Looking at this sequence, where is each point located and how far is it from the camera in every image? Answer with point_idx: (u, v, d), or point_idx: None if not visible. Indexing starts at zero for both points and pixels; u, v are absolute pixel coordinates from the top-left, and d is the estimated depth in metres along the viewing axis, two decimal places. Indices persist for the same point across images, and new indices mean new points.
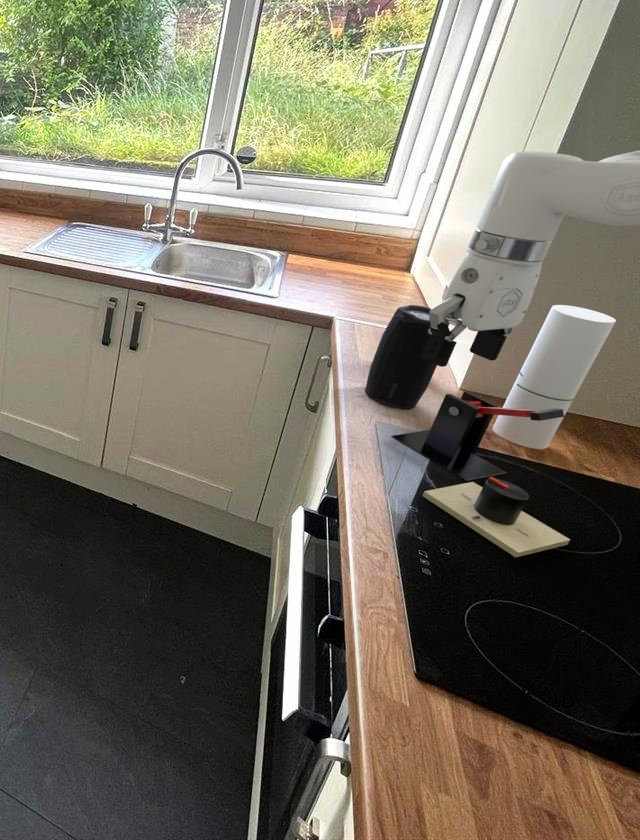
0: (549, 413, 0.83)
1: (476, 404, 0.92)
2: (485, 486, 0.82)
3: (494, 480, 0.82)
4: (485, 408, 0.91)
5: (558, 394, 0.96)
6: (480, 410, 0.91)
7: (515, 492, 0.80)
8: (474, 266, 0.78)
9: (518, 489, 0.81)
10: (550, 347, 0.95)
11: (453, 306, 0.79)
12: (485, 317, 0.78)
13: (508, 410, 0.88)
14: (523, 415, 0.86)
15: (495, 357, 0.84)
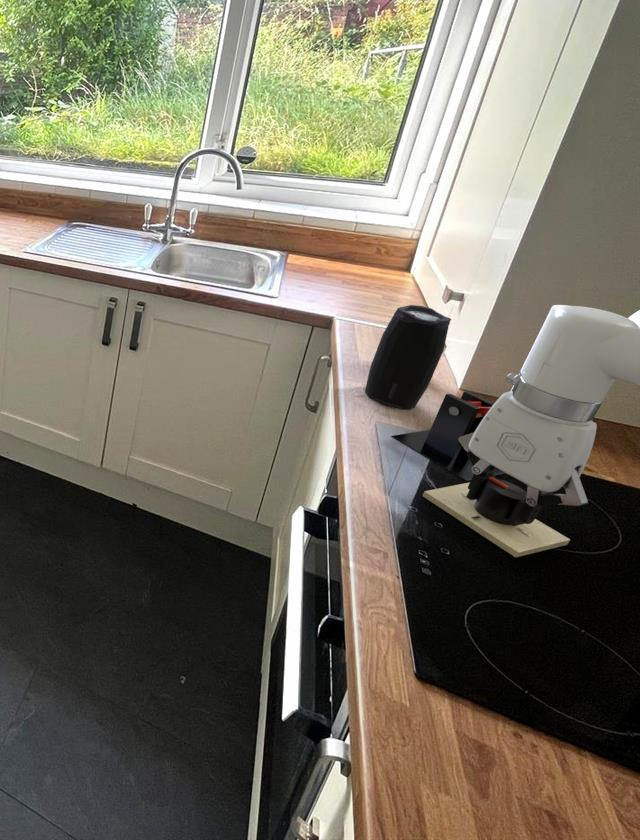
0: None
1: (476, 404, 0.92)
2: (485, 486, 0.82)
3: (494, 480, 0.82)
4: (485, 408, 0.91)
5: None
6: (480, 410, 0.91)
7: (515, 492, 0.80)
8: None
9: (518, 489, 0.81)
10: None
11: (474, 433, 0.84)
12: (482, 444, 0.81)
13: None
14: None
15: (510, 521, 0.79)
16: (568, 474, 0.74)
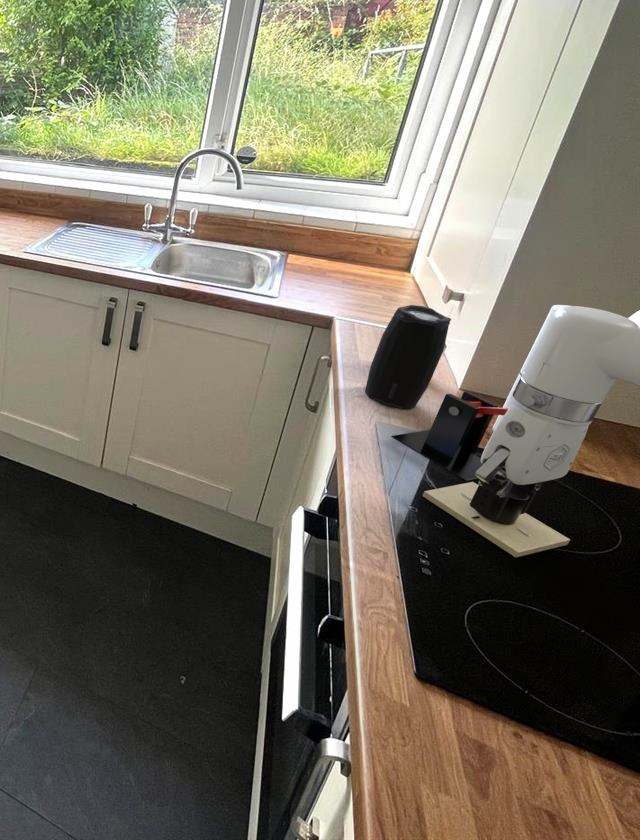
0: None
1: (476, 404, 0.92)
2: (511, 501, 0.79)
3: None
4: (485, 408, 0.91)
5: None
6: (480, 410, 0.91)
7: None
8: (520, 420, 0.75)
9: None
10: None
11: (498, 466, 0.77)
12: (531, 472, 0.76)
13: None
14: None
15: (523, 511, 0.81)
16: None
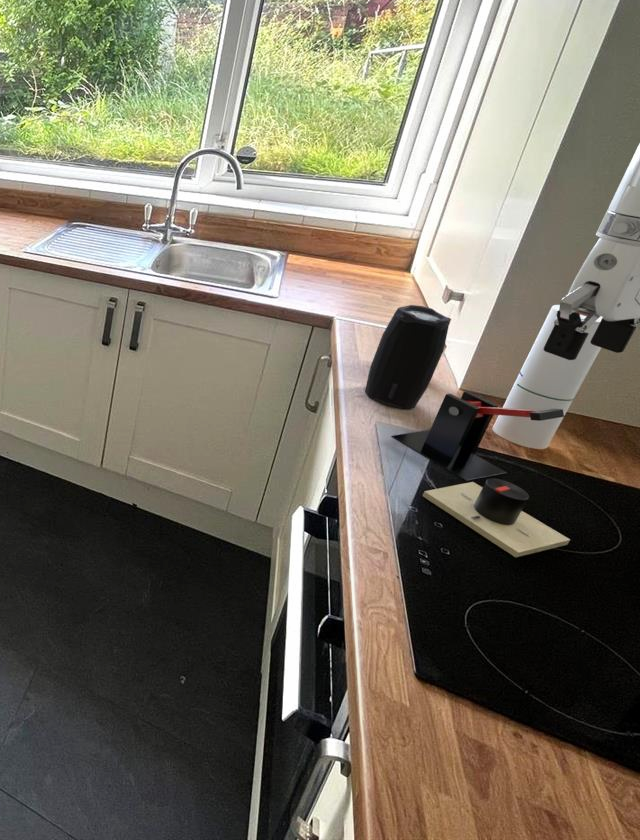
0: (549, 413, 0.83)
1: (476, 404, 0.92)
2: (512, 501, 0.79)
3: (502, 490, 0.80)
4: (485, 408, 0.91)
5: (558, 394, 0.96)
6: (480, 410, 0.91)
7: (509, 486, 0.81)
8: (610, 251, 0.72)
9: (498, 482, 0.82)
10: None
11: (587, 294, 0.73)
12: (623, 305, 0.73)
13: (508, 410, 0.88)
14: (523, 415, 0.86)
15: (622, 349, 0.79)
16: None
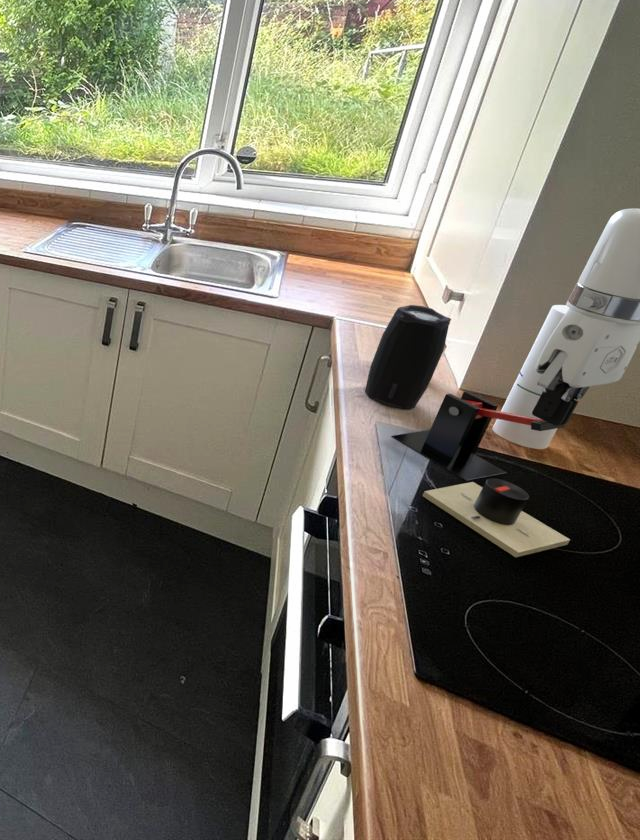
0: (550, 424, 0.83)
1: (477, 405, 0.92)
2: (512, 501, 0.79)
3: (502, 490, 0.80)
4: (486, 411, 0.91)
5: None
6: (480, 412, 0.91)
7: (509, 486, 0.81)
8: (577, 323, 0.77)
9: (498, 482, 0.82)
10: None
11: (557, 373, 0.79)
12: (588, 374, 0.77)
13: (509, 416, 0.88)
14: (523, 422, 0.86)
15: (565, 421, 0.82)
16: None
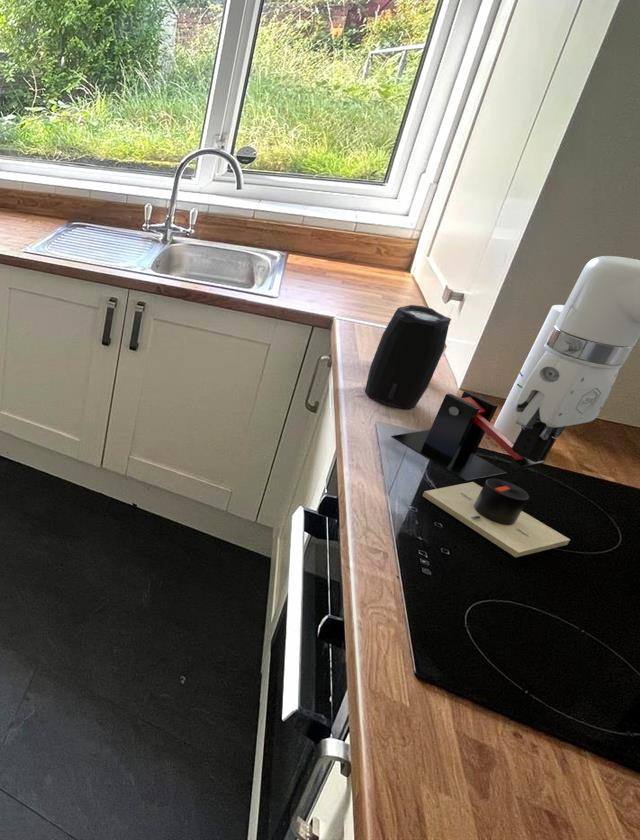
0: (529, 465, 0.86)
1: (479, 413, 0.92)
2: (512, 501, 0.79)
3: (502, 490, 0.80)
4: (482, 422, 0.91)
5: None
6: (476, 420, 0.92)
7: (509, 486, 0.81)
8: (554, 365, 0.79)
9: (498, 482, 0.82)
10: None
11: (535, 413, 0.82)
12: (564, 415, 0.80)
13: (499, 438, 0.89)
14: (507, 450, 0.88)
15: (543, 458, 0.85)
16: None
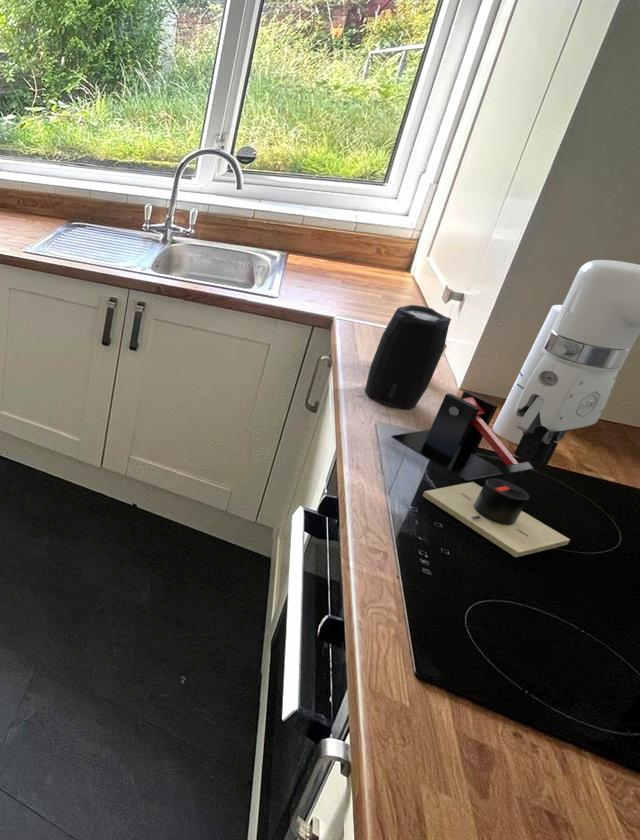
0: (518, 471, 0.87)
1: (478, 414, 0.92)
2: (512, 501, 0.79)
3: (502, 490, 0.80)
4: (480, 424, 0.92)
5: None
6: (474, 421, 0.92)
7: (509, 486, 0.81)
8: (552, 369, 0.80)
9: (498, 482, 0.82)
10: None
11: (536, 417, 0.82)
12: (564, 419, 0.80)
13: (494, 442, 0.90)
14: (499, 454, 0.89)
15: (546, 462, 0.85)
16: None
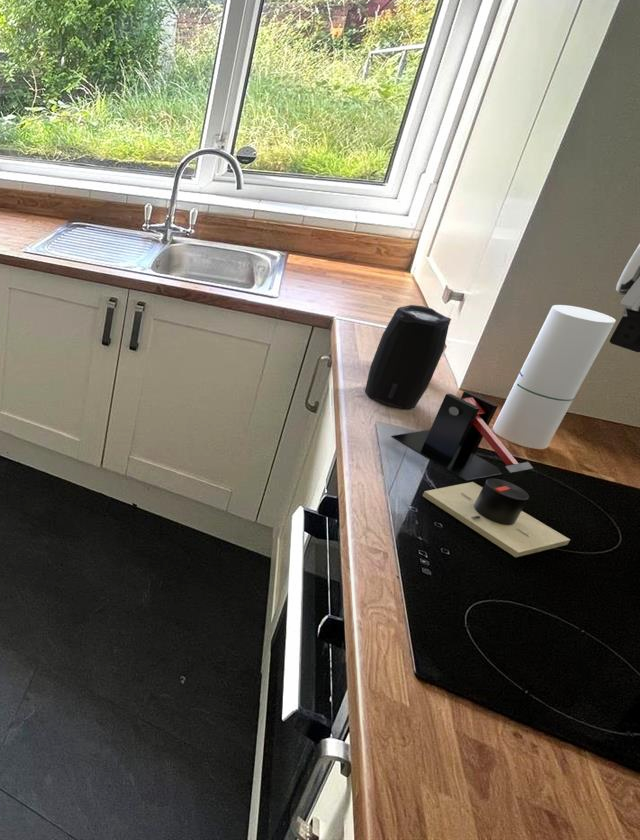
0: (518, 471, 0.87)
1: (478, 414, 0.92)
2: (512, 501, 0.79)
3: (502, 490, 0.80)
4: (480, 424, 0.92)
5: (558, 394, 0.96)
6: (474, 421, 0.92)
7: (509, 486, 0.81)
8: None
9: (498, 482, 0.82)
10: (550, 347, 0.95)
11: None
12: None
13: (494, 442, 0.90)
14: (499, 454, 0.89)
15: None
16: None
